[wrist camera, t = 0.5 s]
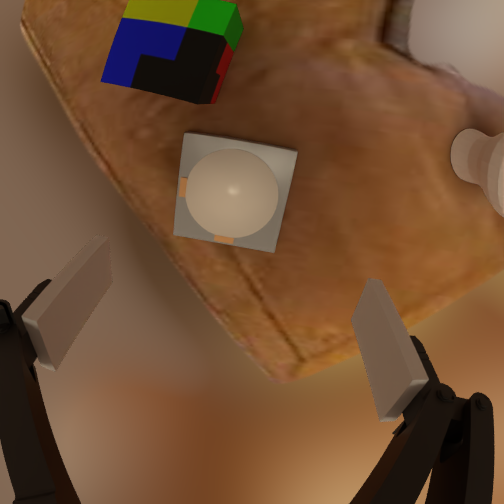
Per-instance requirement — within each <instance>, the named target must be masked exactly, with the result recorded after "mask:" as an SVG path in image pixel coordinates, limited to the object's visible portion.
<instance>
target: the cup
mask: <svg viewBox="0 0 504 504" xmlns="http://www.w3.org/2000/svg"><path fill="white" fill-rule="evenodd" d="M450 156H451V164H452V167H453V170H454V171H455V173H456V175H457V176H458V177H459V178H460V179H462V180H464V181H467V182H470V183H474V184H478V185H479V186H480V187H482V190H483V192H484V194H485V196H486V198H487V199H488V201H489V202H490V203H491V205H492V206H493V208H494V209H495V210H496V211H497V212H498V213H499V214H500V215H501V216H502V217H504V132H503V133H500V134H498V135H496V136H495V137H489V136H487V135H485V134H484V133H482V132H480V131H478V130H476V129H471V128H470V129H465V130H463V131H461V132H460V133H459V134H458V135H457V136H456V138H455V139H454V141H453V144H452V147H451V155H450Z"/></svg>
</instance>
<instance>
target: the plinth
mask: <svg viewBox="0 0 504 504" xmlns="http://www.w3.org/2000/svg"><path fill="white" fill-rule="evenodd" d="M297 153H298V152H297V150H296V149H292V148H287V147H282V146H277V145H272V144H267V143H262V142H257V141H251V140H246V139H240V138H234V137H228V136H221V135H215V134H208V133H200V132H193V131H187V132H185V133H184V139H183V146H182V154H181V162H180V170H179V179H178V189H177V198H176V209H175V220H174V232H173V235H177V236H183V237H188V238H194V239H200V240H205V241H211V242H216V243H222V244H228V245H233V246H239V247H244V248H250V249H256V250H261V251H267V252H272V253H274V252H275V247H276V243H277V239H278V235H279V231H280V227H281V222H282V218H283V214H284V210H285V205H286V201H287V197H288V193H289V188H290V184H291V180H292V175H293V171H294V167H295V162H296V158H297Z"/></svg>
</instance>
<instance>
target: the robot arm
mask: <svg viewBox="0 0 504 504" xmlns="http://www.w3.org/2000/svg"><path fill="white" fill-rule="evenodd" d="M112 282H113V281H112V271H111V260H110V247H109V237H106V236H100V235H95V236H94V237H93V238H92V240H90V241H89V242H88V243H87V245H85V246H84V248H82V249H81V250H80V251H79V253H78V254H77V255H76V256H75V257H74V258H73V259H72V260H71V261H70V262H69V263H68V264H67V265H66V266H65V267H64V268H63V269H62V270H61V271H60V272H59V273H58V275H57V276H56V277H55V278H54V279H53V280H50V279H47V280H45V281H43V282H42V283H40V284H38V285H37V287H36V288H35V289H34V290H33V291H32V293H30V294H29V296H28V297H27V298H26V299H25V300H24V301H23V302H22V304H20V306H19V307H18V308H17V309H16V310H15V311H14V313H13V312H12V309H11V306H10V303H9V302H7V301H6V300H0V440H1V445H2V449H3V454H4V458H5V462H6V465H7V469H8V473H9V476H10V479H11V483H12V486H13V489H14V492H15V500H14V501H13V504H81V502H80V500H79V498H78V496H77V494H76V491H75V489H74V487H73V485H72V482H71V480H70V478H69V475H68V473H67V471H66V468H65V465H64V463H63V461H62V458H61V455H60V452H59V450H58V447H57V444H56V441H55V438H54V435H53V432H52V429H51V426H50V423H49V420H48V416H47V413H46V409H45V406H44V402H43V398H42V394H41V390H40V386H39V382H38V378H37V373H36V368H35V366H34V364H33V363H34V361H35V360H36V358H37V357H38V360H39V362H40V364H41V366H42V367H45V368H47V369H50V370H52V371H55V372H56V371H57V369H58V367H59V365H60V364H61V362H62V360H63V359H64V357H65V355H66V354H67V352H68V350H69V348H70V347H71V345H72V344H73V342H74V340H75V339H76V337H77V336H78V334H79V332H80V331H81V329H82V328H83V326H84V324H85V323H86V321H87V320H88V318H89V317H90V315H91V314H92V312H93V311H94V309H95V307H96V306H97V305H98V303H99V302H100V300H101V299H102V297H103V295H104V294H105V293H106V291H107V290H108V288H109V287H110V285H111V284H112ZM351 322H352V325H353V328H354V331H355V335H356V338H357V341H358V344H359V348H360V351H361V354H362V358H363V361H364V365H365V368H366V372H367V375H368V379H369V382H370V386H371V390H372V394H373V397H374V401H375V405H376V409H377V413H378V417H379V421H380V422H385V421H395V420H396V419H397V418H398V417H399V416H400V415H401V413H403V417H404V421H403V422H402V423H401V424H400V425H399V426H398V428H397V429H396V430H395V431H394V432H393V434H395V435H394V437H393V439H392V440H391V442H390V444H389V445H388V447H387V449H386V451H385V452H384V454H383V455H382V457H381V458H380V460H379V462H378V463H377V465H376V466H375V468H374V469H373V471H372V472H371V474H370V475H369V477H368V478H367V480H366V481H365V483H364V484H363V486H362V487H361V488H360V490H359V491H358V493H357V494H356V495H355V497H354V498H353V500H352V501H351V502H350V504H415V502H416V500H417V498H418V496H419V494H420V492H421V490H422V488H423V486H424V484H425V482H426V480H427V478H428V476H429V474H430V471H431V469H432V473H431V478H430V483H429V488H428V493H427V498H426V501H425V504H491V503H492V493H493V479H494V419H493V407H492V403H491V401H490V399H489V398H488V397H487V396H486V395H484V394H482V393H479V392H477V393H474V394H473V395H472V396H471V397H470V398H469V399H464V398H459V397H456V395H455V392H454V391H453V390H452V388H450V387H449V386H448V385H445V384H443V383H440V381H439V379H438V377H437V374H436V372H435V370H434V368H433V366H432V363H431V362H430V360H429V357H428V355H427V354H426V351H425V349H424V347H423V344H422V343H421V342H420V341H419V340H418V339H417V338H416V337H415V336H409V334H408V332H407V330H406V328H405V326H404V324H403V322H402V320H401V318H400V315H399V313H398V311H397V309H396V307H395V306H394V304H393V302H392V300H391V298H390V296H389V294H388V292H387V290H386V288H385V286H384V284H383V282H382V281H381V280H378V279H371V278H368V280H367V282H366V285H365V287H364V290H363V292H362V295H361V297H360V300H359V302H358V304H357V307H356V309H355V312H354V314H353V316H352V318H351Z"/></svg>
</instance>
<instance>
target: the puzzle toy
mask: <svg viewBox="0 0 504 504" xmlns="http://www.w3.org/2000/svg"><path fill="white" fill-rule="evenodd" d="M243 29H244V28H243V24H242V21H241V17H240V14H239V11H238V7H237V4H234V3H230V2H226V1H221V0H129V2H128V4H127V7H126V9H125V12H124V14H123V17H122V19H121V22H120V24H119V27H118V30H117V32H116V35H115V38H114V41H113V44H112V46H111V49H110V52H109V55H108V59H107V62H106V65H105V68H104V72H103V75H102V78H101V82H104V83H110V84H115V85H120V86H125V87H130V88H135V89H139V90H144V91H148V92H152V93H156V94H161V95H165V96H169V97H172V98H176V99H180V100H184V101H187V102H191V103H195V104H214V103H215V102H216V99H217V96H218V93H219V90H220V88H221V85H222V82H223V80H224V77H225V74H226V72H227V69H228V66H229V64H230V61H231V59H232V56H233V53H234V51H235V48H236V46H237V43H238V41H239V39H240V36H241V34H242V31H243Z"/></svg>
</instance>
